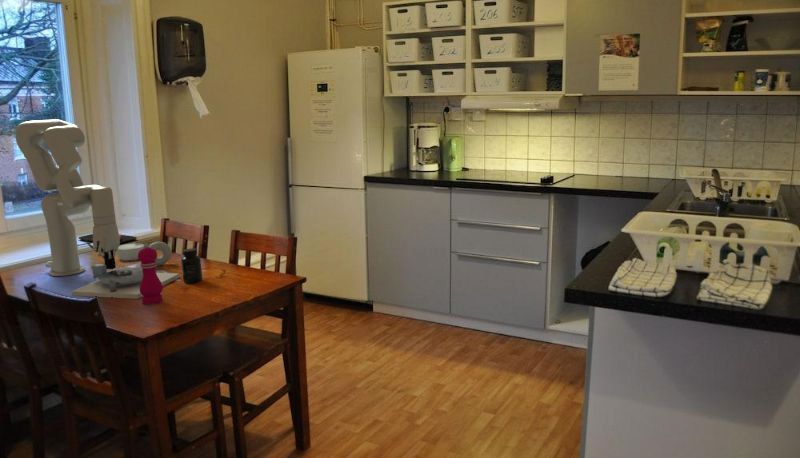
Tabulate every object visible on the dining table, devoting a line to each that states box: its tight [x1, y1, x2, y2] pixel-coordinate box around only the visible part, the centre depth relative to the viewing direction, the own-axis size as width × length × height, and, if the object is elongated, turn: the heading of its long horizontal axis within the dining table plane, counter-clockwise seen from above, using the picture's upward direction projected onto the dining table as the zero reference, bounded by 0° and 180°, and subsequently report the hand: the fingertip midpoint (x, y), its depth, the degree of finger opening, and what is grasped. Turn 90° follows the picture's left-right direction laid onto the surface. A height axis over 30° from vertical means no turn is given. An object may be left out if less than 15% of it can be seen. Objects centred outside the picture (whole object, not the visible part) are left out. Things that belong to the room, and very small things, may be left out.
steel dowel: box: [109, 281, 117, 292], centre depth 228 cm, size 2×2×4 cm
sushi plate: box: [77, 233, 137, 250], centre depth 311 cm, size 29×30×4 cm
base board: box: [71, 272, 180, 300], centre depth 239 cm, size 26×26×3 cm
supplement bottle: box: [180, 248, 203, 285], centre depth 242 cm, size 7×7×12 cm
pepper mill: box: [137, 243, 164, 305], centre depth 218 cm, size 7×7×20 cm
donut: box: [149, 241, 172, 267], centre depth 266 cm, size 10×4×10 cm, turn 126°
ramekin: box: [116, 243, 144, 262], centre depth 280 cm, size 11×11×5 cm
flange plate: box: [91, 263, 143, 285], centre depth 238 cm, size 22×18×4 cm
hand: (110, 268), depth 246 cm, fingers closed
